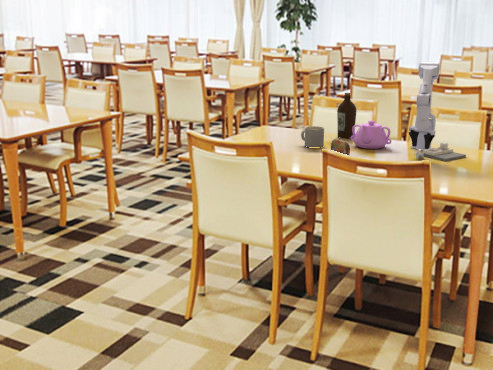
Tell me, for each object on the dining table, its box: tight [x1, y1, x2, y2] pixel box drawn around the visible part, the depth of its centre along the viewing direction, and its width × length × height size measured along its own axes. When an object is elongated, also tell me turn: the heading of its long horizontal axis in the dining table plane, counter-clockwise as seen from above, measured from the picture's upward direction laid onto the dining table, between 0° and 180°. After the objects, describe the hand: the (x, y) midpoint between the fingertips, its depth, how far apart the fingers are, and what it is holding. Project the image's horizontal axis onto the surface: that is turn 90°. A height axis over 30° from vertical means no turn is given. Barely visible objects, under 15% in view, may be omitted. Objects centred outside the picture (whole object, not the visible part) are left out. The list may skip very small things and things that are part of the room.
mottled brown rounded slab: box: [330, 138, 351, 156], centre depth 297 cm, size 15×3×8 cm, turn 21°
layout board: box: [424, 142, 467, 162], centre depth 297 cm, size 16×15×5 cm
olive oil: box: [336, 92, 357, 140], centre depth 342 cm, size 11×11×25 cm
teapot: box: [350, 120, 392, 150], centre depth 317 cm, size 22×22×14 cm
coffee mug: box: [300, 125, 325, 148], centre depth 322 cm, size 13×10×10 cm
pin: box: [415, 149, 425, 160], centre depth 293 cm, size 4×4×4 cm
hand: (420, 147), depth 292 cm, fingers open, 7 cm apart
